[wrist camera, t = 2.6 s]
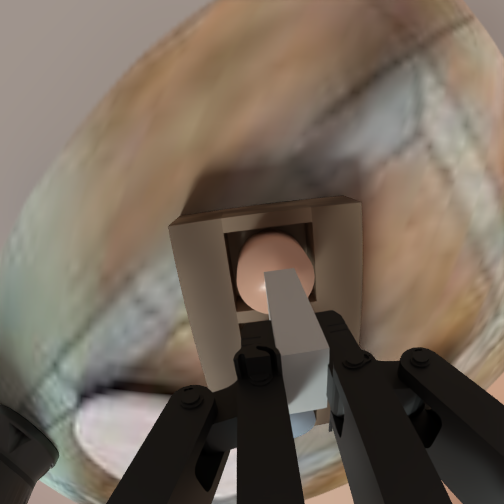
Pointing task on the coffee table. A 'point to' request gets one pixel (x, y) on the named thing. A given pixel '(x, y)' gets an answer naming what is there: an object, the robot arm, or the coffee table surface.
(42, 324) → the coffee table surface
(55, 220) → the coffee table surface
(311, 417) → the button slate
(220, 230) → the button board
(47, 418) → the coffee table surface
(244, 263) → the button terracotta
